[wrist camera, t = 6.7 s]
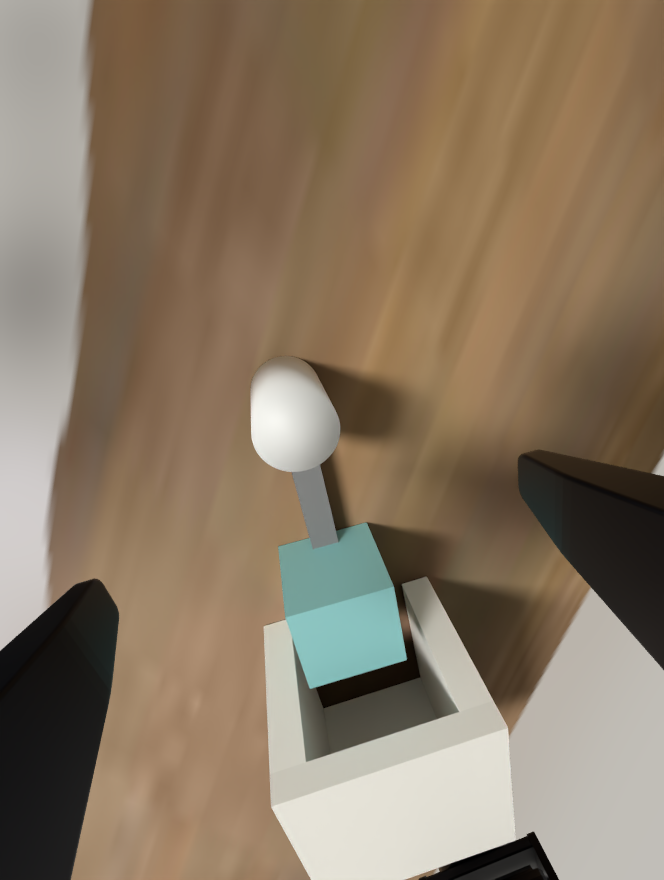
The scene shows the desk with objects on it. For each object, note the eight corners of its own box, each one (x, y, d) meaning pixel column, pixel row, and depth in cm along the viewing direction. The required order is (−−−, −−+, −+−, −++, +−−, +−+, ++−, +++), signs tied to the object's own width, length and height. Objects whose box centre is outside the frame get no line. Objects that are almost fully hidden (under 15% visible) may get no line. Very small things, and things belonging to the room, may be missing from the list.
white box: (444, 684, 31) (515, 844, 23) (306, 729, 30) (328, 910, 22) (426, 576, 26) (508, 727, 18) (263, 626, 26) (271, 806, 17)
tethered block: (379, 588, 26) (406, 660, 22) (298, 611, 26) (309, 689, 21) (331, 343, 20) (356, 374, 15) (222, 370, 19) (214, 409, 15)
